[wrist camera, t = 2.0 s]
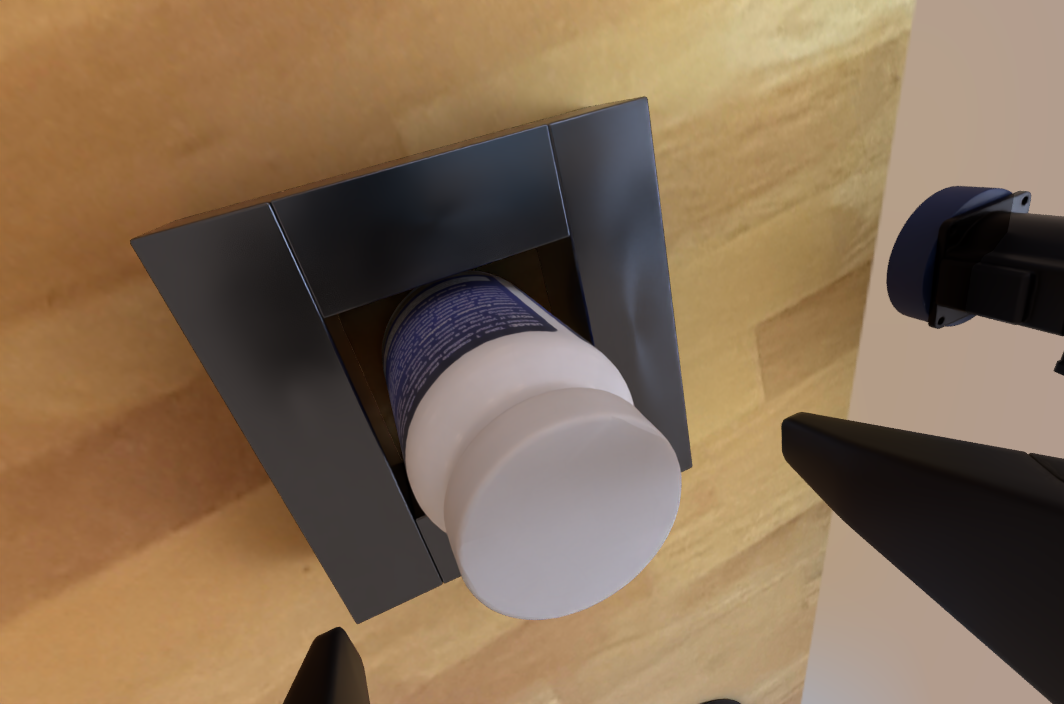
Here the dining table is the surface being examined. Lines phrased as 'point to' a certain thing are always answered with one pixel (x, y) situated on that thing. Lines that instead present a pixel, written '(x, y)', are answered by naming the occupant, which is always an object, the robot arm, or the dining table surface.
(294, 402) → the stand
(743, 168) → the dining table surface
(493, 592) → the pill bottle
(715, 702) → the coaster
